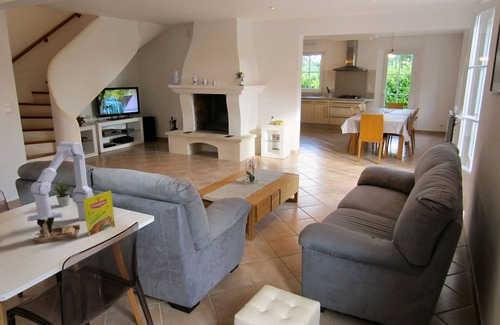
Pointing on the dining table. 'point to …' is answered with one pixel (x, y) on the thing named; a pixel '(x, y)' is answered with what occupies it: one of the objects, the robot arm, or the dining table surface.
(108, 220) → the food package
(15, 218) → the dining table surface
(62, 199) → the house plant
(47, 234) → the birch sheet
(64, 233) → the oak offcut stack
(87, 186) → the robot arm
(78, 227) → the walnut rack
